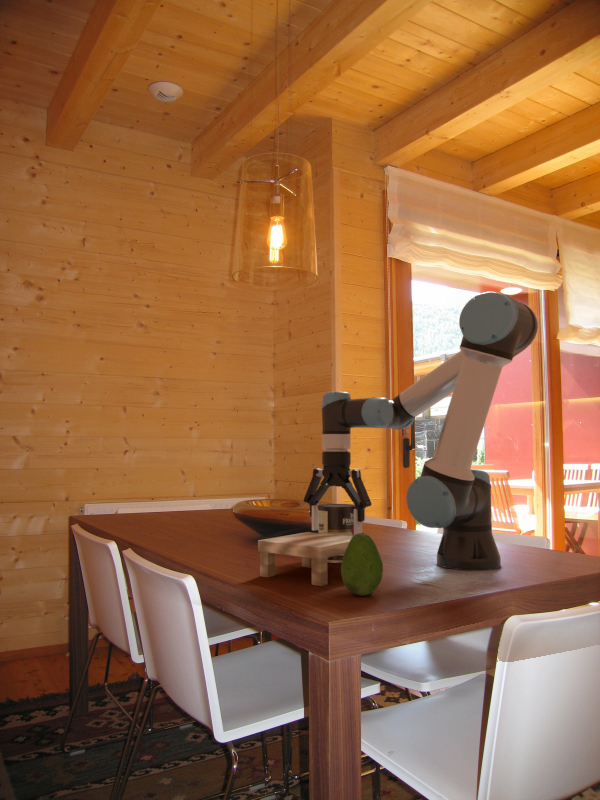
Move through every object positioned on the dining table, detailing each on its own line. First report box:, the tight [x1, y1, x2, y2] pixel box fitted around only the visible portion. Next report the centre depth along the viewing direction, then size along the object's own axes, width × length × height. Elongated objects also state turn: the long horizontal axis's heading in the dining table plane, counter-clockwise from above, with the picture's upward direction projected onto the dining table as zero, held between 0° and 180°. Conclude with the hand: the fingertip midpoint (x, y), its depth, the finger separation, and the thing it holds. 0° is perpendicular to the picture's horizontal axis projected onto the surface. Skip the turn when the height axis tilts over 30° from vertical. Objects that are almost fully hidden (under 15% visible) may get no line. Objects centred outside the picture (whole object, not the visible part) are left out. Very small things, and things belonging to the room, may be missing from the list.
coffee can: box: [317, 503, 356, 564], centre depth 159 cm, size 10×10×14 cm
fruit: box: [340, 532, 384, 597], centre depth 120 cm, size 8×8×12 cm
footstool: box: [257, 531, 353, 587], centre depth 140 cm, size 18×18×8 cm
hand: (336, 532), depth 160 cm, fingers open, 13 cm apart
